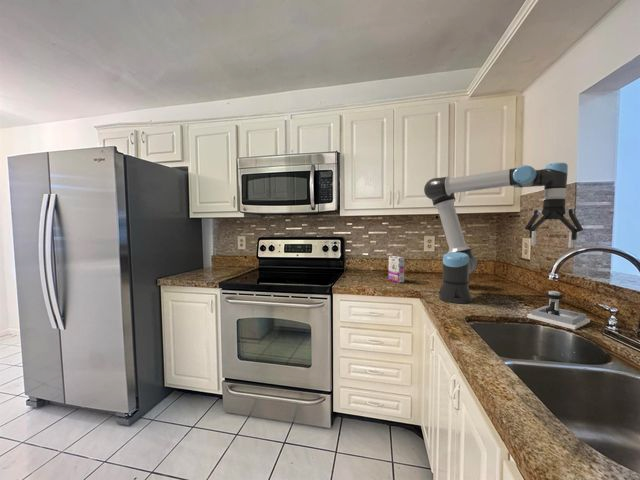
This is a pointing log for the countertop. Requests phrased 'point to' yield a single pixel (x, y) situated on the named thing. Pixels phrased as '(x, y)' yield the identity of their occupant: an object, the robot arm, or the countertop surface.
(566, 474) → the countertop surface
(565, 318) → the tray
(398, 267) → the candy bar box
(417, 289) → the countertop surface
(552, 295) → the push button
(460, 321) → the countertop surface
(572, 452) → the countertop surface
